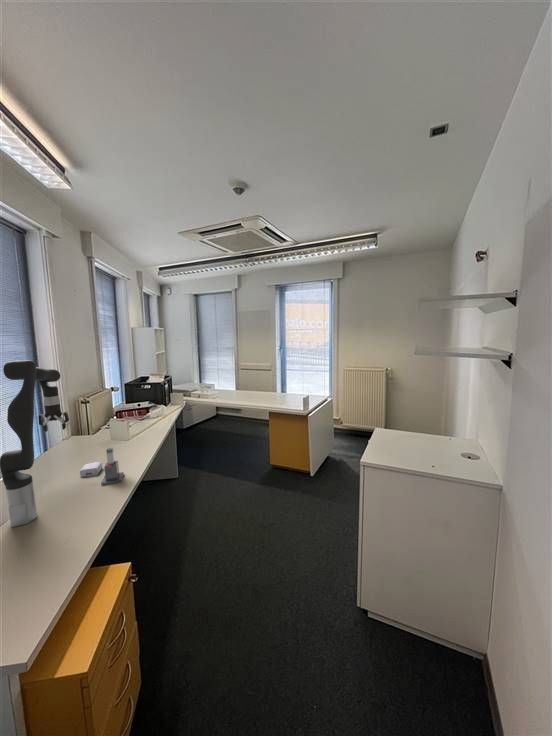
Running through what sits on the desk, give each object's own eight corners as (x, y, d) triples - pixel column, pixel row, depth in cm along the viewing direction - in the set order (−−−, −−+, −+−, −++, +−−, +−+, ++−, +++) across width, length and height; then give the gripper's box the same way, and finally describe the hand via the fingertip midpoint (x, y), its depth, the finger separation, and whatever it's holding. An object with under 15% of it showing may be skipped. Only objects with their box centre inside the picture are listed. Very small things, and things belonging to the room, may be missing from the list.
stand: (121, 482, 165) (119, 465, 164) (101, 485, 162) (99, 468, 160) (123, 474, 174) (122, 458, 173) (105, 477, 171) (103, 461, 170)
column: (115, 477, 167) (112, 449, 165) (109, 478, 166) (106, 450, 164) (116, 474, 170) (113, 447, 168) (110, 475, 169) (107, 448, 167)
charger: (105, 464, 189) (97, 475, 175) (89, 466, 187) (80, 477, 172) (104, 457, 188) (96, 467, 174) (88, 459, 186) (79, 470, 172)
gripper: (34, 406, 163) (38, 433, 165) (64, 403, 168) (67, 430, 170) (40, 403, 170) (43, 430, 172) (68, 401, 175) (71, 426, 177)
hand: (55, 430), depth 171 cm, fingers open, 8 cm apart
